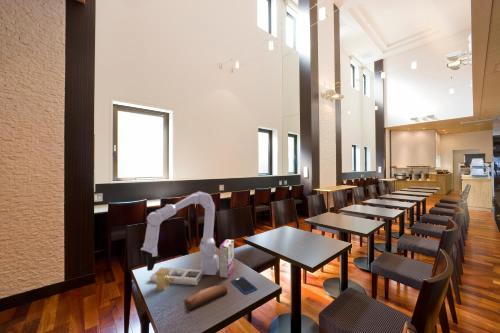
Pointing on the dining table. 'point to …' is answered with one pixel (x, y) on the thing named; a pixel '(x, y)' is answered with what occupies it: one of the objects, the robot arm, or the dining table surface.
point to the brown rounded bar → (205, 296)
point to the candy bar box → (226, 258)
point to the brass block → (162, 279)
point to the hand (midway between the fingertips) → (147, 267)
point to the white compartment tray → (184, 278)
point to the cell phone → (244, 285)
